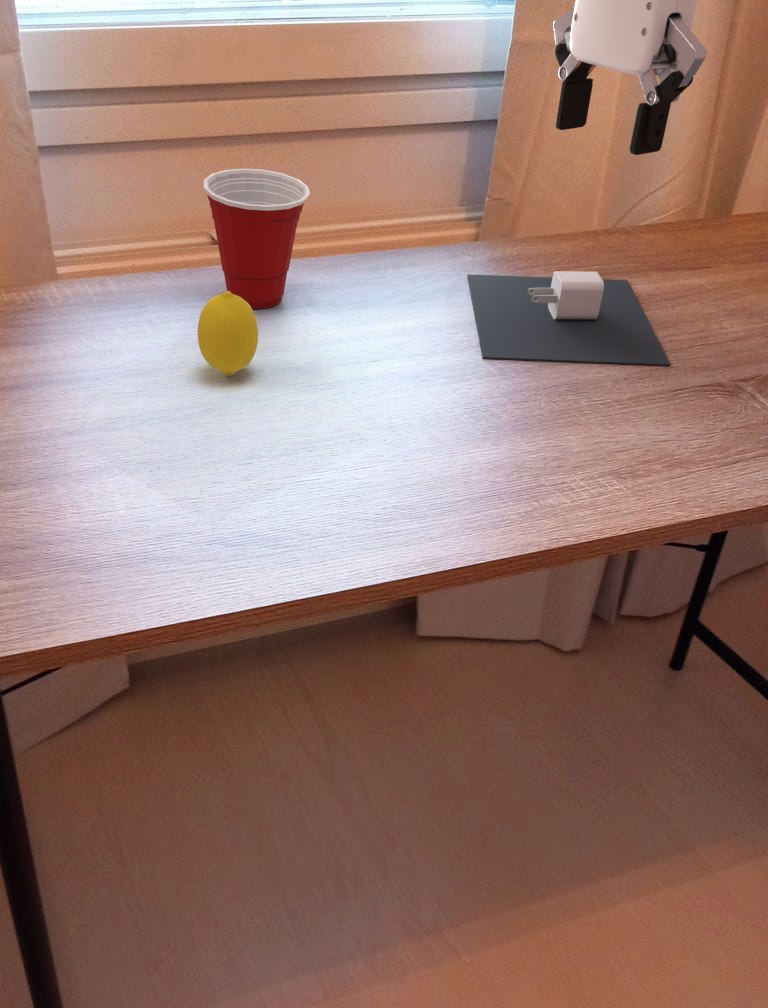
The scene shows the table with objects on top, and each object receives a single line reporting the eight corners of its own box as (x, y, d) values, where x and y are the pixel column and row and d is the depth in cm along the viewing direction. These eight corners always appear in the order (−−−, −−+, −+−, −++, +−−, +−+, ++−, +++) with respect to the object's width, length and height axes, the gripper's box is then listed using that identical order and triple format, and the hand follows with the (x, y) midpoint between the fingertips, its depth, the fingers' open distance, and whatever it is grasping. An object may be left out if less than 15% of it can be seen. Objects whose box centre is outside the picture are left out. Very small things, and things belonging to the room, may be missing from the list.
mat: (670, 366, 98) (670, 364, 98) (482, 358, 99) (483, 356, 99) (626, 281, 115) (627, 280, 115) (467, 276, 116) (467, 274, 116)
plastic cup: (274, 328, 104) (275, 206, 97) (187, 306, 108) (181, 187, 101) (325, 293, 112) (329, 177, 104) (241, 274, 116) (239, 161, 108)
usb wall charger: (596, 322, 106) (604, 283, 103) (530, 321, 106) (536, 283, 103) (587, 306, 109) (595, 269, 106) (523, 306, 109) (529, 268, 106)
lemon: (270, 376, 96) (270, 292, 91) (226, 394, 93) (223, 308, 88) (231, 357, 99) (229, 275, 94) (187, 374, 96) (182, 290, 91)
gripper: (768, -86, 77) (708, 157, 88) (609, -101, 89) (574, 115, 100) (696, -82, 74) (643, 169, 85) (542, -98, 86) (513, 124, 97)
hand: (606, 139), depth 92 cm, fingers open, 9 cm apart
